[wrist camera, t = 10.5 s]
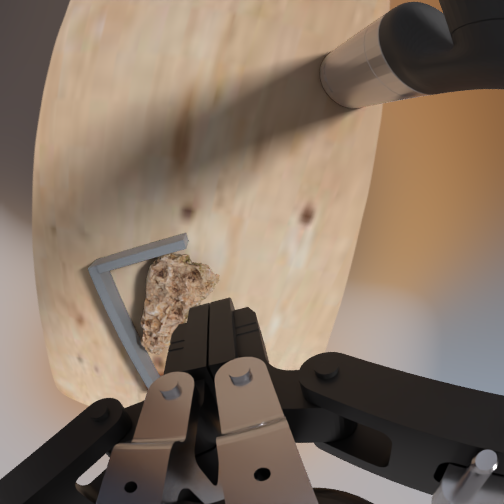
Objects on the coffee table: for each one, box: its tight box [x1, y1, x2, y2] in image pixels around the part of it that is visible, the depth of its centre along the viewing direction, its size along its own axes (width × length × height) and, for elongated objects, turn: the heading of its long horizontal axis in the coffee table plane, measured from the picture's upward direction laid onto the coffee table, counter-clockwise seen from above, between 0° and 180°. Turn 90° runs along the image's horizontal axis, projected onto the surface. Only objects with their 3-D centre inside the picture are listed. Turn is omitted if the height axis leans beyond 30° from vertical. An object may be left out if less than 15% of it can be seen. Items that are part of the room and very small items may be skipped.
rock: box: [141, 253, 219, 354], centre depth 44 cm, size 17×5×10 cm
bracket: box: [88, 233, 189, 389], centre depth 45 cm, size 14×25×4 cm, turn 14°
